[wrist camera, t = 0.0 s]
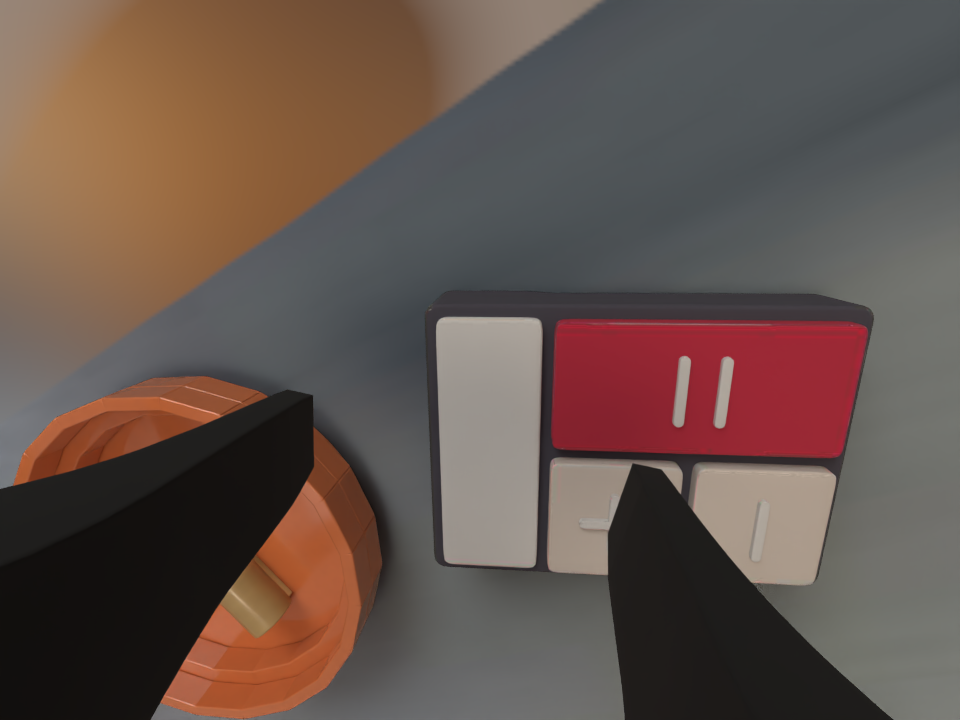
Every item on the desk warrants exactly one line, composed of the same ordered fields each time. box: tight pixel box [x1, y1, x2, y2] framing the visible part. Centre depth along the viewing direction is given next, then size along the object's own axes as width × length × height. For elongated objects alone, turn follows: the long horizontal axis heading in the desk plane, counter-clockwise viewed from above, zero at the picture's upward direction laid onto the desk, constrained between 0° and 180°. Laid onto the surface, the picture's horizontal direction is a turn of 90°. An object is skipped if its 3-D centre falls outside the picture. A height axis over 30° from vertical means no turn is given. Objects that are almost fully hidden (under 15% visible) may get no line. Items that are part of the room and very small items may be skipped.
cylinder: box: [220, 555, 292, 638], centre depth 23 cm, size 10×2×2 cm, turn 40°
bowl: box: [13, 376, 382, 719], centre depth 24 cm, size 17×17×4 cm
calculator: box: [425, 291, 874, 585], centre depth 19 cm, size 11×4×15 cm
